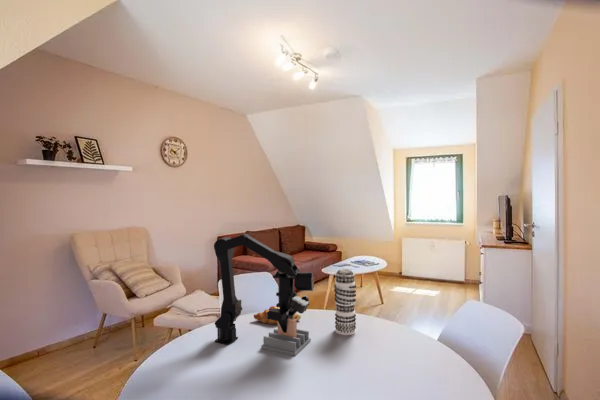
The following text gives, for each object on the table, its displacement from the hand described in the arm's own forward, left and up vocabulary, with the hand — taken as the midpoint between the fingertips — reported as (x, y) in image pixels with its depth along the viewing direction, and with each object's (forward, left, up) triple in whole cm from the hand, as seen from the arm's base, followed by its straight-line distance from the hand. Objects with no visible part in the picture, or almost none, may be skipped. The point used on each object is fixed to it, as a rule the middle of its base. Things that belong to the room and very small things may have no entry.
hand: (286, 331), depth 122 cm
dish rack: (0, 0, -5) cm, 5 cm away
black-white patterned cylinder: (+16, +22, -5) cm, 27 cm away
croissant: (-15, +19, -5) cm, 25 cm away
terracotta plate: (0, 0, -3) cm, 3 cm away
